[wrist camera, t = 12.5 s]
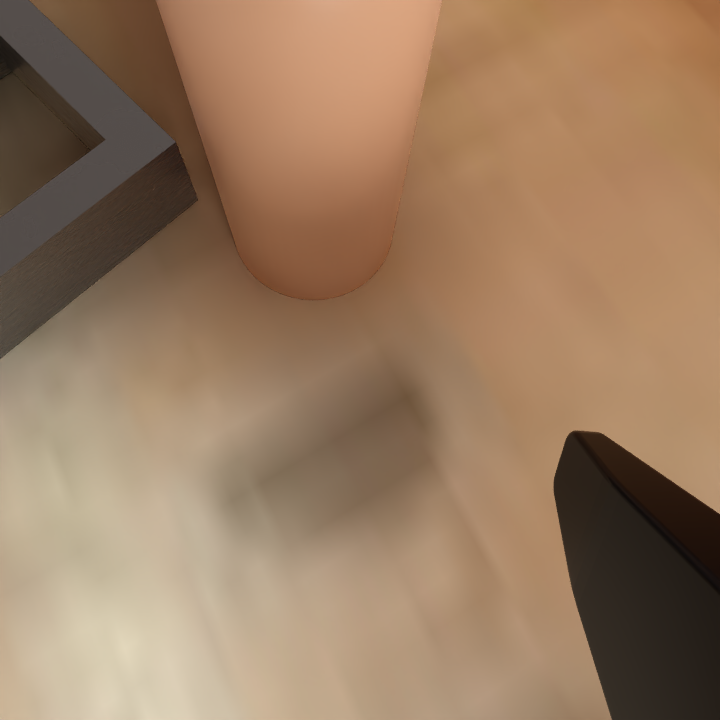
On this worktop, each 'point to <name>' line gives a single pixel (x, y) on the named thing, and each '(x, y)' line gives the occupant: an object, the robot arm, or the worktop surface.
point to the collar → (79, 179)
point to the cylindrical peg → (306, 126)
